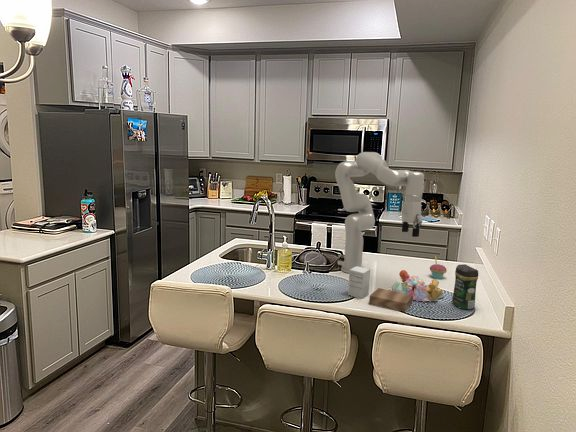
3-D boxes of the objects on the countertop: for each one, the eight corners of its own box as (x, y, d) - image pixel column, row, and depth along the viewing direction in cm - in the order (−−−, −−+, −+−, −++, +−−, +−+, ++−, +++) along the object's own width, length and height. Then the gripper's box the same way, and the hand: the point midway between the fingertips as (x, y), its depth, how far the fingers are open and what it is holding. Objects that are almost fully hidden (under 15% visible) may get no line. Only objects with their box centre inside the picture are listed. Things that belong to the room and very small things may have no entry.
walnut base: (368, 304, 195) (369, 295, 194) (377, 296, 205) (378, 287, 204) (405, 312, 187) (405, 303, 187) (412, 303, 198) (412, 295, 197)
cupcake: (428, 278, 234) (430, 256, 232) (429, 273, 242) (431, 252, 239) (445, 280, 231) (447, 258, 229) (446, 276, 239) (448, 254, 236)
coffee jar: (448, 302, 200) (452, 263, 197) (463, 301, 202) (468, 262, 199) (461, 311, 191) (466, 269, 188) (477, 309, 193) (482, 269, 190)
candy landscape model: (445, 291, 216) (447, 272, 215) (441, 307, 195) (443, 287, 194) (394, 282, 226) (395, 265, 225) (384, 297, 205) (386, 278, 203)
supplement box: (354, 291, 211) (356, 265, 208) (368, 294, 206) (370, 268, 204) (347, 295, 205) (349, 269, 202) (361, 299, 201) (363, 272, 198)
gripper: (397, 195, 213) (394, 230, 217) (415, 201, 197) (412, 238, 200) (411, 195, 215) (408, 230, 218) (430, 201, 199) (426, 238, 202)
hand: (410, 234), depth 209 cm, fingers open, 9 cm apart
